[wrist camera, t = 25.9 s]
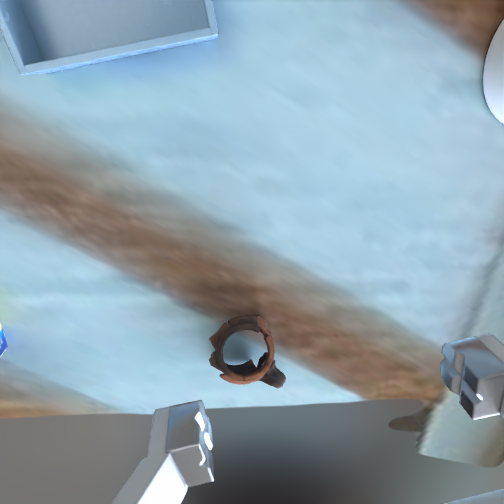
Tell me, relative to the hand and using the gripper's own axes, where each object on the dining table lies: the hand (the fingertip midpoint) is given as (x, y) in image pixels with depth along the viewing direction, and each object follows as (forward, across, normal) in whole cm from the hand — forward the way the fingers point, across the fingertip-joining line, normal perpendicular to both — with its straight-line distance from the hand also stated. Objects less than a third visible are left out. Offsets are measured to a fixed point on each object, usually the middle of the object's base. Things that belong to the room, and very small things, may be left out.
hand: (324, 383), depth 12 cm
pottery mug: (+31, +4, +25) cm, 40 cm away
